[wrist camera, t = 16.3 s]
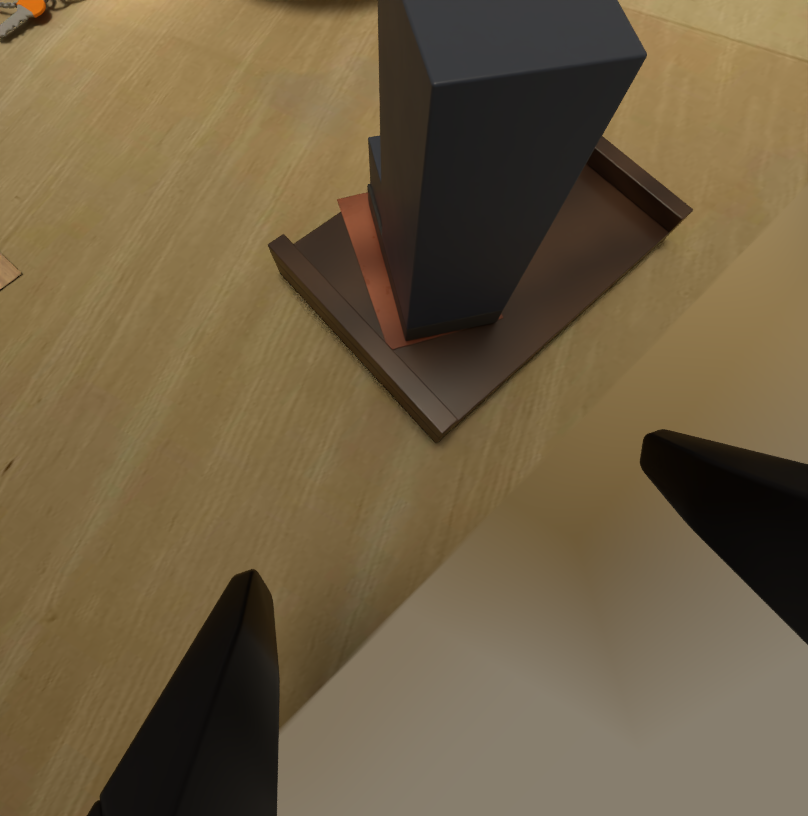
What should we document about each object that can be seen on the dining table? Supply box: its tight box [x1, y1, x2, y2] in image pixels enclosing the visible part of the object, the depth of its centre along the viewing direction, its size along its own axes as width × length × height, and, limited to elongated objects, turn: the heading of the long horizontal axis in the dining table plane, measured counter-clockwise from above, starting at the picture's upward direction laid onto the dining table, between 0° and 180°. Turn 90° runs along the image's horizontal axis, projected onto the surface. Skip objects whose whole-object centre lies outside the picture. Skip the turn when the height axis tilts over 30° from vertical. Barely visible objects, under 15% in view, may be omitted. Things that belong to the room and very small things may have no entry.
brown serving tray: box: [268, 136, 693, 443], centre depth 25 cm, size 16×22×3 cm
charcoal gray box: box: [367, 0, 647, 341], centre depth 17 cm, size 10×6×14 cm, turn 14°
